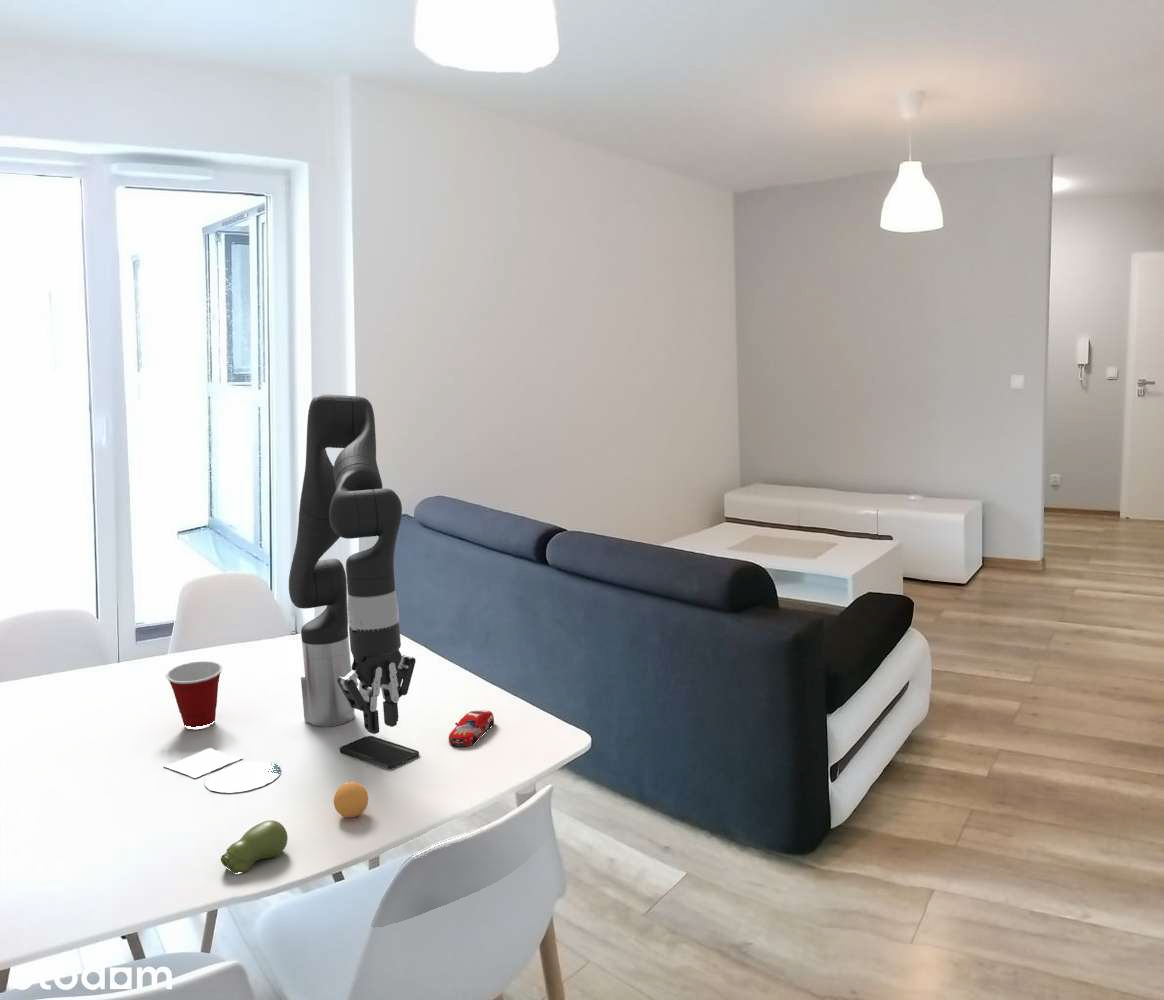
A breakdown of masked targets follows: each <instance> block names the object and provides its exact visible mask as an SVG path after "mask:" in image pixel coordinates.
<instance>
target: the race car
mask: <svg viewBox="0 0 1164 1000" xmlns="http://www.w3.org/2000/svg"><path fill="white" fill-rule="evenodd" d="M454 725H456V726H455V727H454V728H453V729H452V730H451V732H450V733H449V734H448V742H449V744H450V745H452V746H456V747H468V746H474V745H475V744H476V743H477V742H478V741H479V740H480V739H481V738H482V737H483V736H484V735H485V734H484V733H485V732H487V730H489V729H490V727H491V726H495V717H494V714H493V712H492V711H491V710H484V709H483V710H482V709H477V710H471V711H469V712H467V713H466V714H465V715H464V716H463V717H462V718H460V720H459V721H458V722H455V723H454ZM490 730H491V729H490ZM490 730H489V731H490ZM487 733H488V732H487ZM483 734H484V735H483ZM482 735H483V736H482ZM481 736H482V737H481ZM480 737H481V738H480ZM479 738H480V739H479ZM478 739H479V740H478ZM477 740H478V741H477ZM476 741H477V742H476ZM475 742H476V743H475ZM474 743H475V744H474ZM473 744H474V745H473Z"/></svg>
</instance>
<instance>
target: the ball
mask: <svg viewBox="0 0 1164 1000" xmlns="http://www.w3.org/2000/svg"><path fill="white" fill-rule="evenodd" d="M368 803H369V794H368V792H367V790H366V788H365V787H364V786H363V785H362V784H360V783H358V782H353V781H350V782H346V783H344V784H342V785H340V786H339V787H338V788H337V790H336V791H335V793H334V795H333V806H334V809H335V810H336V812H337V813H338V814H339V815H341V816H342V817H344V818H355V817H358V816H360V815H362V813H363V812H364V811H365V809H367V806H368Z"/></svg>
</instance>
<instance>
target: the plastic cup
mask: <svg viewBox="0 0 1164 1000" xmlns="http://www.w3.org/2000/svg"><path fill="white" fill-rule="evenodd" d="M222 671H223V666H222V665H221V663H218V662H215V661H208V660H207V661H206V660H202V661H200V660H199V661H191V662H187V663H183V664H179V665H177V666H174V667H173V668H171V669H169V670H168V671H167V672H166V674H165V677H166V679H167V680H168V683H169V684H170V687H171V689H172V691H173V694H174V698H175V701H176V704H177V708H178V711H179V713H180V716H181V719H182V723H184V724H183V725H184V726H185V725H186V726H191V727H196V726H203V725H207V724H210V723H212V722H213V721H215V720H216V716H217V715H216V714H217V713H216V712H217V706H218V705H217V704H218V693H219V692H218V691H219V682H220V677H221V673H222Z"/></svg>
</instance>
